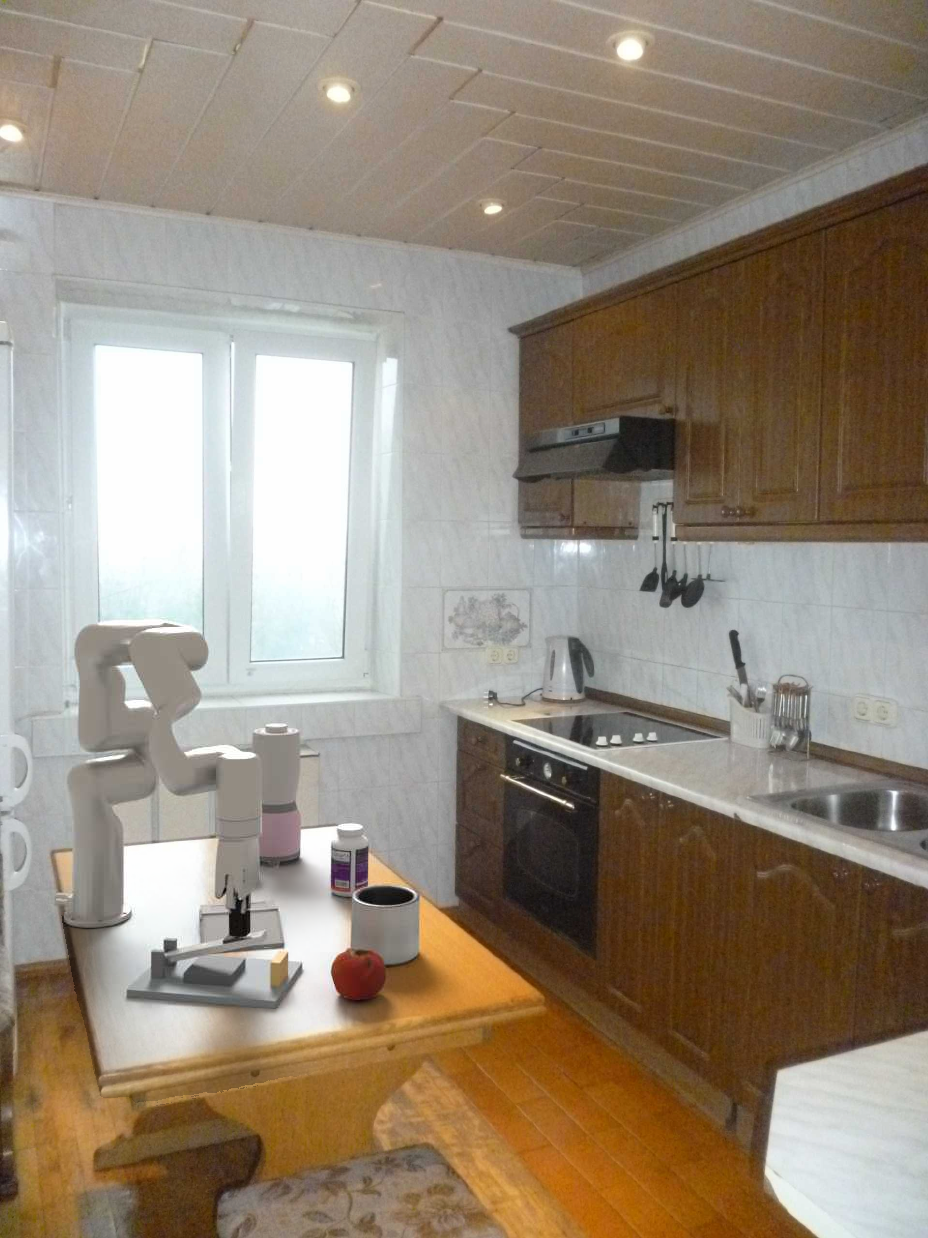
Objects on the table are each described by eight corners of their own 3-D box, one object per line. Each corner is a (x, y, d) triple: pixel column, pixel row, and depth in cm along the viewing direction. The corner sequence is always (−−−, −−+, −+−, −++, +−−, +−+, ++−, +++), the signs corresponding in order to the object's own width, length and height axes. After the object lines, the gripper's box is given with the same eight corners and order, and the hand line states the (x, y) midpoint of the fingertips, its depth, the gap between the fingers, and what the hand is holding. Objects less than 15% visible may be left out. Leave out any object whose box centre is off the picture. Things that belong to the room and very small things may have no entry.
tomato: (334, 983, 177) (335, 937, 176) (388, 985, 176) (389, 939, 176) (326, 1007, 167) (326, 959, 167) (382, 1009, 167) (383, 961, 167)
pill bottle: (363, 885, 228) (364, 820, 227) (371, 897, 220) (373, 830, 219) (326, 888, 226) (328, 823, 225) (334, 900, 218) (335, 832, 217)
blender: (280, 870, 237) (282, 732, 234) (236, 862, 242) (238, 726, 239) (317, 852, 251) (320, 722, 249) (275, 845, 256) (277, 717, 254)
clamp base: (126, 996, 169) (126, 962, 169) (165, 958, 185) (166, 927, 185) (275, 1008, 166) (276, 973, 166) (302, 968, 182) (302, 936, 182)
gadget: (285, 950, 192) (285, 930, 192) (202, 957, 188) (202, 937, 188) (274, 908, 214) (274, 890, 214) (199, 913, 210) (199, 895, 210)
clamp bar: (157, 966, 175) (154, 955, 175) (165, 958, 178) (162, 947, 178) (262, 944, 172) (259, 933, 172) (268, 936, 176) (265, 926, 176)
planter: (402, 973, 182) (403, 911, 181) (338, 961, 186) (339, 900, 185) (429, 948, 193) (430, 889, 193) (368, 937, 198) (369, 880, 197)
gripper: (232, 815, 181) (232, 918, 182) (201, 837, 166) (202, 950, 167) (274, 817, 180) (274, 920, 181) (246, 839, 166) (247, 952, 167)
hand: (239, 934), depth 174 cm, fingers closed
